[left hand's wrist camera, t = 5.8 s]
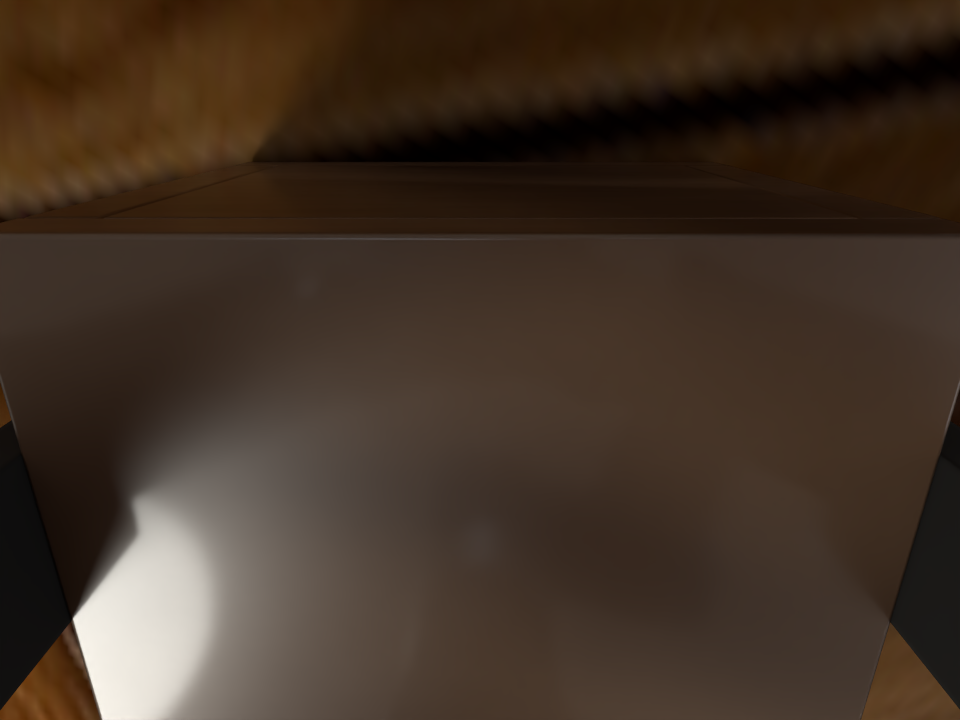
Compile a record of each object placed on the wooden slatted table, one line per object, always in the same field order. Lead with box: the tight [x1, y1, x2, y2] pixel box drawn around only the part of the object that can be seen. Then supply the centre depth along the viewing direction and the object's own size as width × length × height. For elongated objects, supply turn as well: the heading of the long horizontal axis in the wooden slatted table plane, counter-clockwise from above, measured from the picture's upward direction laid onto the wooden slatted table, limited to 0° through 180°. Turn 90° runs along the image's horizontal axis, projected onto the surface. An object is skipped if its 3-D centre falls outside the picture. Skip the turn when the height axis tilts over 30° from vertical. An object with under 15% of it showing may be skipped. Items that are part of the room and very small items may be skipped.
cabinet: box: [0, 162, 960, 720], centre depth 15 cm, size 20×12×10 cm, turn 0°
